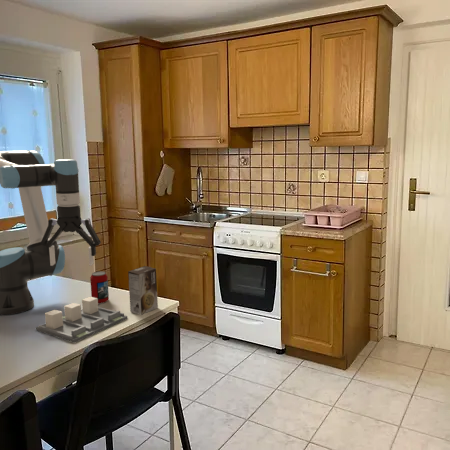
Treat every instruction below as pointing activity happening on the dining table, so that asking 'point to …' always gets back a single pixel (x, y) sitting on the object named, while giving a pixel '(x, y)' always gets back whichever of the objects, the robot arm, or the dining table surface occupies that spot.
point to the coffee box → (143, 290)
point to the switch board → (85, 325)
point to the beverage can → (99, 286)
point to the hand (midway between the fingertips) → (72, 264)
